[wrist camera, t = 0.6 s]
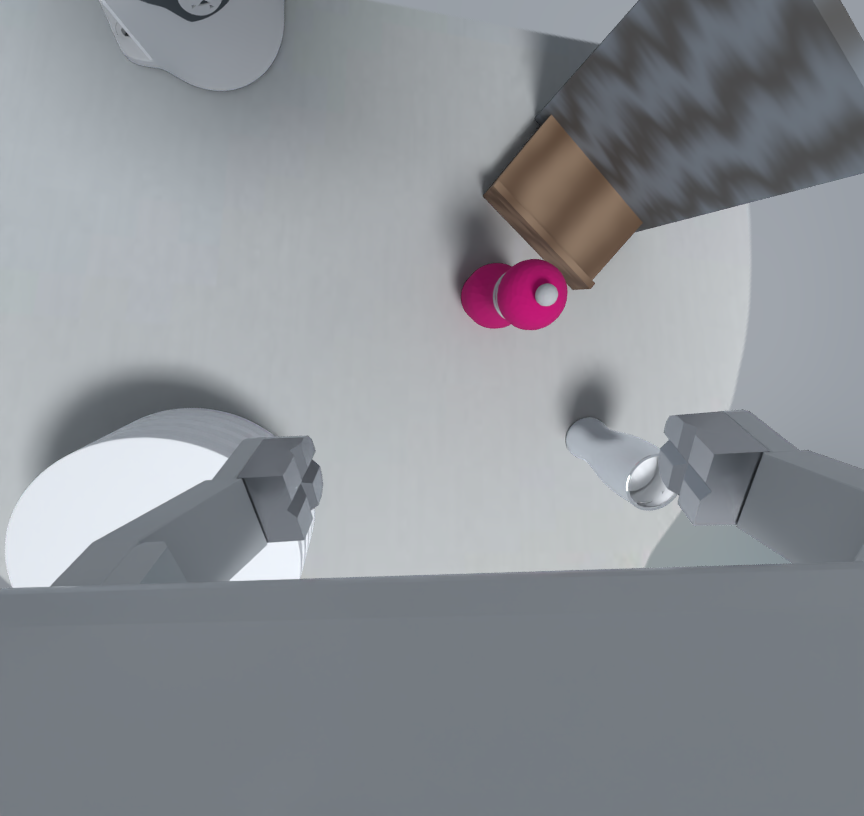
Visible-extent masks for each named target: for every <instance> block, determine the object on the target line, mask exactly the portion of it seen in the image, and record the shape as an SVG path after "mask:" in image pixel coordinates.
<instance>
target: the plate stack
mask: <svg viewBox="0 0 864 816" xmlns="http://www.w3.org/2000/svg"><path fill="white" fill-rule="evenodd" d="M258 437H276V436H274V435H273V434H272V433H270V432H269V431H267V430H266V429H264V428H263V427H261V426H259V425H257V424H256V423H254V422H252V421H249V420H247V419H245V418H242V417H240V416H237V415H234V414H231V413H227V412H223V411H219V410H213V409H205V408H179V409H171V410H165V411H161V412H157V413H153V414H150V415H147V416H145V417H142V418H140V419H138V420H136V421H134V422H132V423H130V424H128V425H126V426H124V427H122V428H120V429H118V430H116V431H114V432H112V433H110V434H108V435H106V436H104V437H102V438H100V439H98V440H96V441H94V442H92V443H90V444H88V445H86V446H84V447H82V448H80V449H78V450H76V451H74V452H72V453H70V454H68V455H67V456H65V457H63V458H61V459H60V460H58V461H56V462H55V463H53V464H52V465H50V466H49V467H48V468H46V469H45V470H44V471H43V472H42V473H41V474H39V475H38V476H37V477H36V478H35V479H34V480H33V481H32V482H31V484H30V485H29V486H28V487H27V488H26V490H25V491H24V492H23V494H22V495H21V497H20V498H19V500H18V502H17V504H16V506H15V508H14V510H13V512H12V515H11V517H10V520H9V523H8V527H7V532H6V539H5V561H6V568H7V572H8V576H9V580H10V583H11V585H12V588H22V587H50V586H51V585H52V583H53V582H54V581H55V580H56V579H57V578H58V577H59V576H60V575H61V574H62V573H63V572H64V571H65V570H66V569H67V568H68V567H69V566H70V565H71V564H72V563H73V562H74V561H75V560H76V559H77V558H78V557H79V556H80V555H81V553H82V552H83V551H84V550H85V549H86V548H87V547H88V546H89V545H90V544H91V543H92V542H94V541H96V540H98V539H100V538H101V537H103V536H105V535H107V534H109V533H110V532H112V531H114V530H116V529H118V528H119V527H121V526H123V525H125V524H127V523H128V522H130V521H132V520H134V519H136V518H138V517H139V516H141V515H143V514H145V513H147V512H148V511H150V510H152V509H154V508H156V507H157V506H159V505H161V504H163V503H165V502H167V501H168V500H170V499H172V498H174V497H176V496H177V495H179V494H181V493H183V492H185V491H186V490H188V489H190V488H192V487H194V486H196V485H197V484H199V483H201V482H203V481H205V480H212V479H213V478H214V476H215V475H216V474H217V472H218V471H219V470H220V469H221V467H222V466H223V465H224V463H225V462H226V461H227V460H228V458H229V457H230V456H231V454H232V453H233V452H234V451H235V449H236V448H237V447H238V445H239V444H240V443H241V442H242V440H244V439H247V438H258ZM311 513H312V516H313V520H312V523H311V525H310V528H309V530H308V533H307V535H306V538H305V540H302V541H287V542H272V543H267V546H266V547H265V548H264V549H262V550H261V551H260V552H259V553H258V554H257V555H256V556H255V557H254V558H253V559H252V560H251V561H250V562H249V563H248V564H246V565H245V566H244V567H243V568H242V569H241V570H240V571H239V572H238V573H237V574H236V575H235V576H234V577H233V578H231V579H230V580H229V581H249V580H281V579H300V578H301V574H302V570H303V566H304V563H305V559H306V555H307V551H308V548H309V544H310V540H311V537H312V533H313V528H314V521H315V508H314V509H312V510H311Z"/></svg>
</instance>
